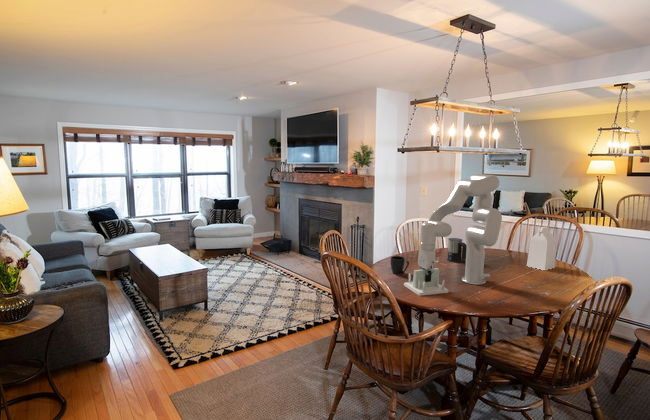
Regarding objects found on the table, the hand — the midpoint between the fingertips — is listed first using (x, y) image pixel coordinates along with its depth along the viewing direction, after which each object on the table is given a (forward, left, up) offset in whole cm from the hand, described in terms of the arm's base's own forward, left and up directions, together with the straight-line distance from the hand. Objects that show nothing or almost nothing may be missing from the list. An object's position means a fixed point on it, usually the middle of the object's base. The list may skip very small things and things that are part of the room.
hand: (426, 280), depth 199 cm
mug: (+1, -27, -5) cm, 27 cm away
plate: (0, 0, -3) cm, 3 cm away
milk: (-94, -17, -5) cm, 96 cm away
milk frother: (-53, -44, -5) cm, 69 cm away
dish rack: (0, 0, -5) cm, 5 cm away
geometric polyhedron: (-33, -49, -5) cm, 59 cm away
